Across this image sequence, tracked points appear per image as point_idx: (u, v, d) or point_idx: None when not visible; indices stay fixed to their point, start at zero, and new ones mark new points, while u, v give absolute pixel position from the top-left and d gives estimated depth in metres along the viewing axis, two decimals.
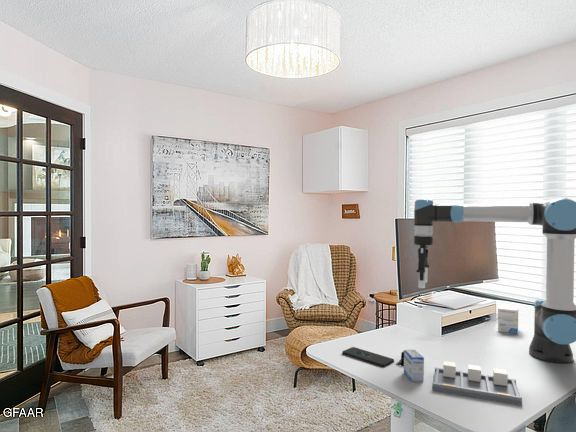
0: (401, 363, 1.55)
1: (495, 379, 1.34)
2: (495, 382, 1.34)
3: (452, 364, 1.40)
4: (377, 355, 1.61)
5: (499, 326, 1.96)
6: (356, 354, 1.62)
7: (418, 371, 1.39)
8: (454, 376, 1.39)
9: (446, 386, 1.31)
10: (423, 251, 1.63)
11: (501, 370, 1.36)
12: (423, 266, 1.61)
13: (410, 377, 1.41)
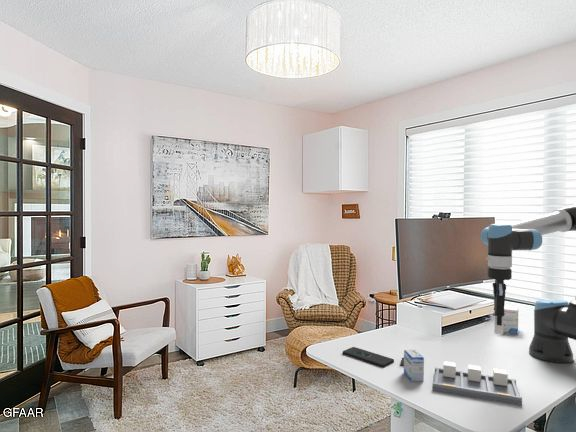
0: None
1: (495, 379, 1.34)
2: (495, 382, 1.34)
3: (452, 364, 1.40)
4: (377, 355, 1.61)
5: None
6: (356, 354, 1.62)
7: (418, 371, 1.39)
8: (454, 376, 1.39)
9: (446, 386, 1.31)
10: (502, 294, 1.35)
11: (501, 370, 1.36)
12: (502, 311, 1.37)
13: (410, 377, 1.41)
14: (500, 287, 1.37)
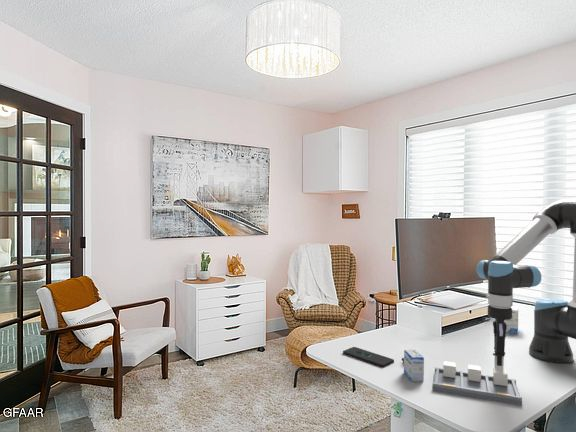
0: None
1: (495, 379, 1.34)
2: (495, 382, 1.34)
3: (452, 364, 1.40)
4: (377, 355, 1.61)
5: None
6: (356, 354, 1.62)
7: (418, 371, 1.39)
8: (454, 376, 1.39)
9: (446, 386, 1.31)
10: (503, 335, 1.32)
11: (501, 370, 1.36)
12: (503, 352, 1.33)
13: (410, 377, 1.41)
14: (500, 327, 1.33)
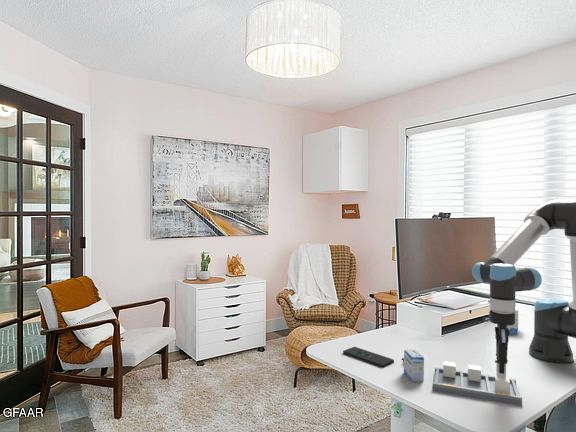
0: None
1: (497, 387, 1.28)
2: (497, 390, 1.28)
3: (452, 364, 1.40)
4: (377, 355, 1.61)
5: None
6: (356, 354, 1.62)
7: (418, 371, 1.39)
8: (454, 376, 1.39)
9: (446, 386, 1.31)
10: (505, 342, 1.26)
11: (503, 378, 1.30)
12: (505, 359, 1.27)
13: (410, 377, 1.41)
14: (503, 333, 1.27)
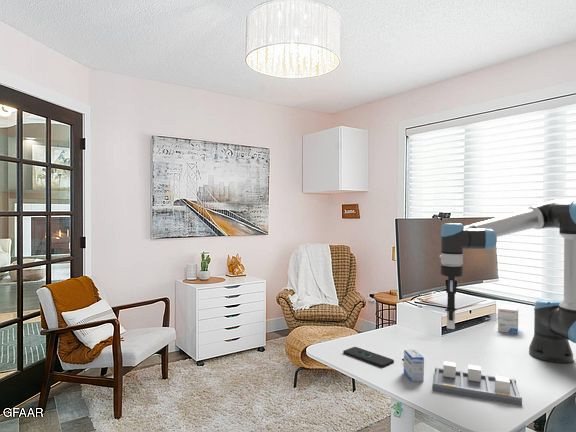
0: None
1: (497, 387, 1.28)
2: (497, 390, 1.28)
3: (452, 364, 1.40)
4: (377, 355, 1.61)
5: (499, 326, 1.96)
6: (356, 354, 1.63)
7: (418, 371, 1.39)
8: (454, 376, 1.39)
9: (446, 386, 1.31)
10: (452, 290, 1.41)
11: (503, 378, 1.29)
12: (453, 306, 1.43)
13: (410, 377, 1.41)
14: (451, 283, 1.43)
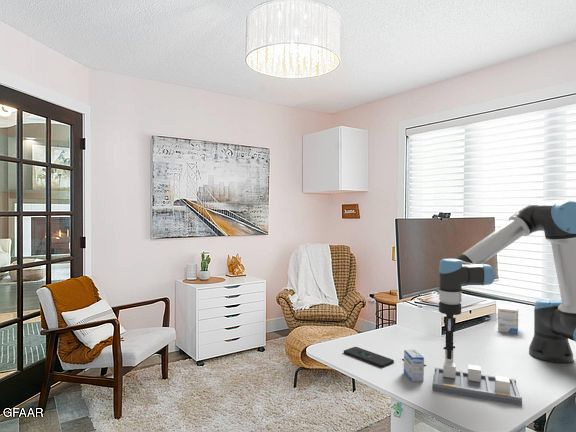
0: None
1: (497, 387, 1.28)
2: (497, 390, 1.28)
3: (452, 365, 1.40)
4: (378, 355, 1.61)
5: (499, 326, 1.96)
6: (356, 354, 1.63)
7: (418, 371, 1.39)
8: (454, 376, 1.39)
9: (446, 386, 1.31)
10: (451, 330, 1.38)
11: (503, 378, 1.29)
12: (451, 345, 1.39)
13: (410, 377, 1.41)
14: (449, 322, 1.39)
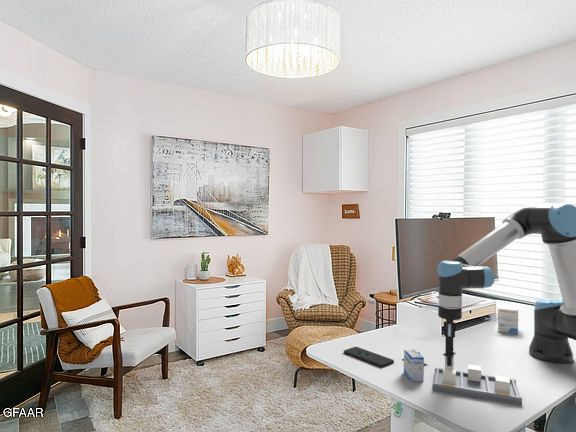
0: None
1: (497, 387, 1.28)
2: (497, 390, 1.28)
3: (452, 372, 1.34)
4: (378, 355, 1.61)
5: (499, 326, 1.96)
6: (357, 354, 1.63)
7: (418, 371, 1.39)
8: (454, 384, 1.33)
9: (446, 386, 1.31)
10: (451, 335, 1.32)
11: (503, 378, 1.29)
12: (451, 352, 1.34)
13: (410, 377, 1.41)
14: (449, 328, 1.33)
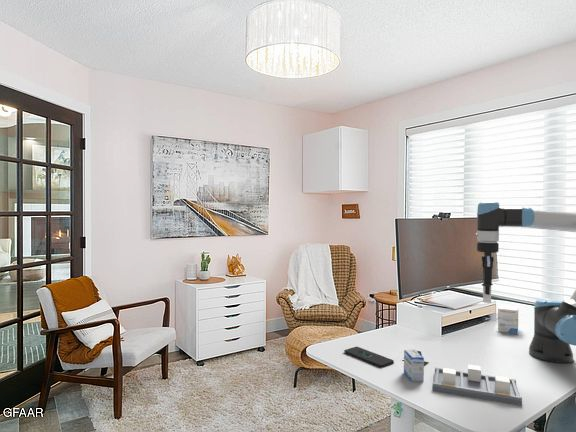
0: None
1: (497, 387, 1.28)
2: (497, 390, 1.28)
3: (452, 372, 1.34)
4: (378, 355, 1.61)
5: (499, 326, 1.96)
6: (357, 353, 1.63)
7: (418, 371, 1.39)
8: (454, 384, 1.33)
9: (446, 386, 1.31)
10: (490, 265, 1.48)
11: (503, 378, 1.29)
12: (490, 281, 1.50)
13: (410, 377, 1.41)
14: (488, 259, 1.50)
